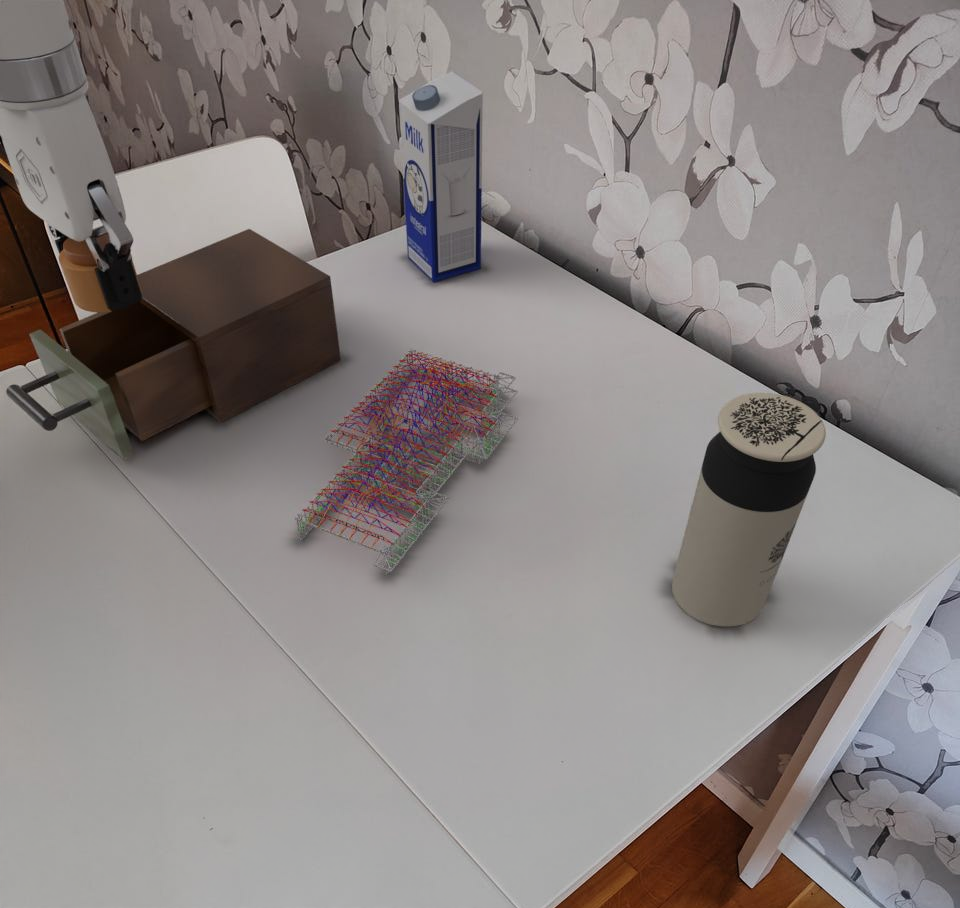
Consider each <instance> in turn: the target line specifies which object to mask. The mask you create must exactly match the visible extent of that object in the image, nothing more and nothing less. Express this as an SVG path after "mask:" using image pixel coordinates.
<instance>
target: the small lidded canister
mask: <svg viewBox="0 0 960 908" xmlns="http://www.w3.org/2000/svg"><path fill="white" fill-rule="evenodd" d="M109 238H110V237H109V234H105V235H103V236H100V237H97V238H96V239H97V241H98V243H99V245H100V247H101V249H102V251H103V250H104V247H105V245H106V244H108V243H109V242H110V241H109ZM58 261H59V265H60V267H61V270H62V273H63V276H64V279H65V281H66V283H67V286H68V289H69V292H70V294H71V297H72V300H73V302H74V304H75V306H77V307H78V308H79V309H80V310H83V311H86V312H90V313H98V312H99V313H101V312H111V310H109V309H108V307H107V305H106V302H105V299H104V296H103V293H102V290H101V287H100V284H99V281H98V278H97V276H96V273H95V270H94V269H95V268H97V267H98V265H97V263H96V261H95V259H94V257H93V255H92V253H91V251H90V249H89V246H88V244H87V242H86V240H84V241H81V242H78V241H75V240H73V239H71V238H67V239H66V240H65V242H64V244H63V250H62V251H61V253H60V254H59V255H58ZM131 262H132V265H133V268H134V272H135V275H136V278H137V281H138V285H139V288H140V291H141V287H140V283H139V280H138V277H137V275H138V274H137V271H136V266H135V264H134V261H133V259H132V261H131Z"/></svg>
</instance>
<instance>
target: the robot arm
mask: <svg viewBox="0 0 960 908" xmlns="http://www.w3.org/2000/svg"><path fill="white" fill-rule="evenodd" d="M89 87H90V85H89V81H88V78H87V75H86V72H85V67H84V65H83V62H82V58H81V54H80V51H79V47H78V45H77V41H76V38H75V36H74V32H73V27H72V25H71V22H70V18H69V15H68V12H67V8H66V5H65V0H0V138H1V141H2V144H3V147H4V151H5V153H6V156H7V160H8V162H9V165H10V168H11V171H12V174H13V178H14V181H15V183H16V186H17V189H18V192H19V194H20V197H21V199H22V201H23V203H24V205H25V206H26V208H27V209H28V210H29V211H30V212H32V213H33V214H34V215H36V216H37V217H38V218H39V219H41V220H42V221H44V222H45V223H47V227H48V230H49V233H50V234H51V236H52V237H53V238H54V239H55V240H54V244H55V246H56V248H57V251H58V254H59V255H60V253H61V251H62V250H63V244H64V242H65V240H66V239H67V238H71V239H73V240H75V241H78V242H81V241H84V240H86V242H87V244H88V246H89V249H90V251H91V253H92V255H93V257H94V259H95V261H96V263H97V265H98V267H97V268H95V269H94V270H95V273H96V276H97V278H98V281H99V284H100V287H101V290H102V293H103V296H104V299H105V302H106V305H107V307H108V309H109V310H111V311H112V312H116V311H119V310H121V309H123V308H126V307H128V306H130V305H133V304H135V303H137V302H140V301H141V300H142V294H141V291H140V288H139V285H138V281H137V278H136V275H135V272H134V268H133V265H132V262H131V261H132V260H133V255H132V253H131V252H132V249H131V248H132V246H133V243H134V237H133V235H132V233H131V231H130V229H129V228H128V226H127V224H126V219H127V214H126V209H125V204H124V201H123V197H122V194H121V191H120V187H119V183H118V181H117V178H116V177H117V176H116V174H115V171H114V168H113V165H112V162H111V159H110V156H109V154H108V151H107V147H106V146H105V143H104V140H103V137H102V134H101V132H100V129H99V127H98V124H97V122H96V119H95V117H94V114H93V111H92V108H91V106H90V104H89V101H88V99H87V97H86V95H85V94H86V93H87V92H88V90H89ZM97 220H100V222H101V224H102V225H100V226H98V227H95V228H94V222H95V221H97ZM105 234H109V237H110V238H109V241H110V242H109V243H108V244H106V245H105V247H104V250H103V251H102V249H101V247H100V245H99V243H98V241H97V239H96V238H97V237H100V236H103V235H105Z"/></svg>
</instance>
